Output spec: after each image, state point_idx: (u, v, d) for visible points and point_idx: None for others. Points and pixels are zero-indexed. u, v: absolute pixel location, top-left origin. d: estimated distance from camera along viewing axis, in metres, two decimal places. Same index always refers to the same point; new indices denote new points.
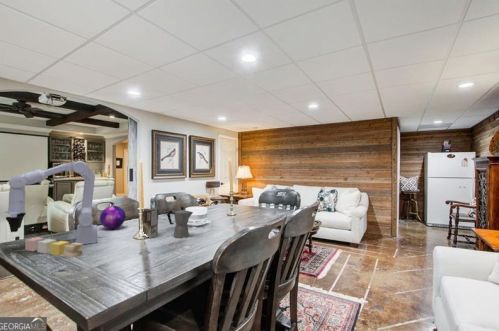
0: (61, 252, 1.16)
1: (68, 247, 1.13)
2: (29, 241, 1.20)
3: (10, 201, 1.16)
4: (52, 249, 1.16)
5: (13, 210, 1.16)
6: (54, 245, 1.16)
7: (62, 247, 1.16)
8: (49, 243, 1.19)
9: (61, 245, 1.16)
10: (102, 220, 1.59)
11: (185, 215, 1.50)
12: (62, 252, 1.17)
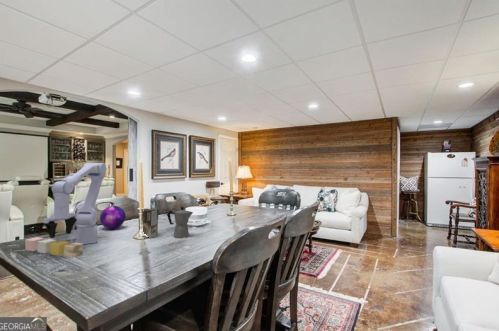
0: (61, 252, 1.16)
1: (68, 247, 1.13)
2: (29, 241, 1.20)
3: (62, 206, 1.16)
4: (52, 249, 1.16)
5: (54, 215, 1.16)
6: (54, 245, 1.16)
7: (62, 247, 1.16)
8: (49, 243, 1.19)
9: (61, 245, 1.16)
10: (102, 220, 1.59)
11: (185, 215, 1.50)
12: (62, 252, 1.17)
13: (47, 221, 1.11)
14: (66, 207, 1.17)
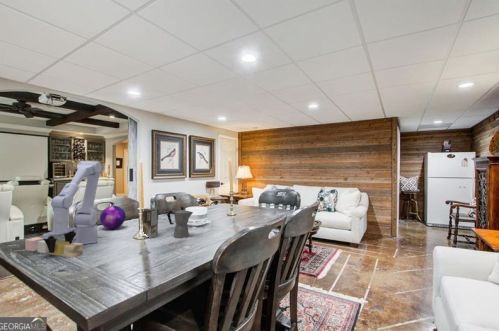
0: (61, 252, 1.16)
1: (68, 247, 1.13)
2: (29, 241, 1.20)
3: (61, 221, 1.16)
4: None
5: (53, 230, 1.16)
6: None
7: (62, 247, 1.16)
8: None
9: (61, 245, 1.16)
10: (102, 220, 1.59)
11: (185, 215, 1.50)
12: (62, 252, 1.17)
13: (46, 237, 1.11)
14: (65, 222, 1.17)
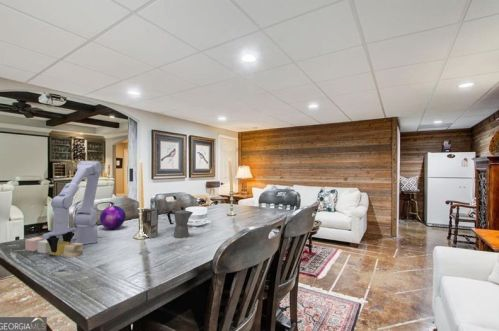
0: (61, 252, 1.16)
1: (68, 247, 1.13)
2: (29, 241, 1.20)
3: (61, 221, 1.16)
4: None
5: (53, 230, 1.16)
6: None
7: (62, 247, 1.16)
8: None
9: (61, 245, 1.16)
10: (102, 220, 1.59)
11: (185, 215, 1.50)
12: (62, 252, 1.17)
13: (46, 237, 1.11)
14: (65, 222, 1.17)
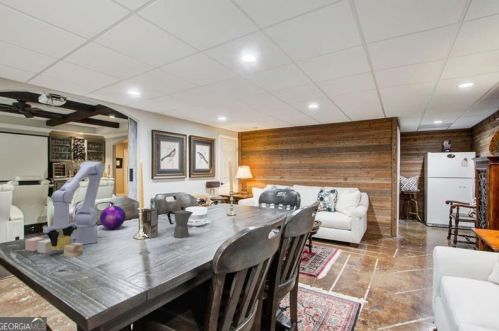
0: (61, 246, 1.16)
1: (68, 247, 1.13)
2: (29, 241, 1.20)
3: (62, 216, 1.16)
4: None
5: (54, 225, 1.16)
6: None
7: (62, 241, 1.17)
8: (49, 243, 1.19)
9: (61, 239, 1.16)
10: (102, 220, 1.59)
11: (185, 215, 1.50)
12: (62, 246, 1.17)
13: (47, 231, 1.11)
14: (66, 216, 1.17)
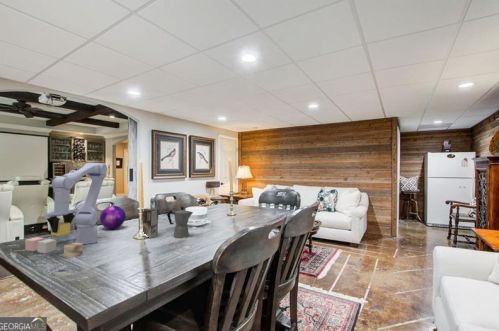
0: (62, 232, 1.16)
1: (68, 247, 1.13)
2: (29, 241, 1.20)
3: (62, 202, 1.16)
4: None
5: (54, 211, 1.16)
6: None
7: (63, 228, 1.17)
8: (49, 243, 1.19)
9: (62, 225, 1.16)
10: (102, 220, 1.59)
11: (185, 215, 1.50)
12: (63, 233, 1.17)
13: (47, 216, 1.11)
14: (66, 203, 1.17)
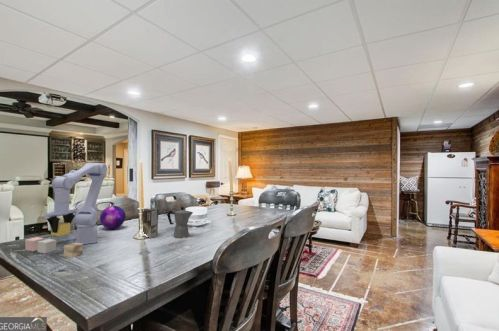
0: (62, 232, 1.16)
1: (68, 247, 1.13)
2: (29, 241, 1.20)
3: (62, 202, 1.16)
4: None
5: (54, 211, 1.16)
6: None
7: (63, 228, 1.17)
8: (49, 243, 1.19)
9: (62, 225, 1.16)
10: (102, 220, 1.59)
11: (185, 215, 1.50)
12: (63, 233, 1.17)
13: (47, 216, 1.11)
14: (66, 203, 1.17)
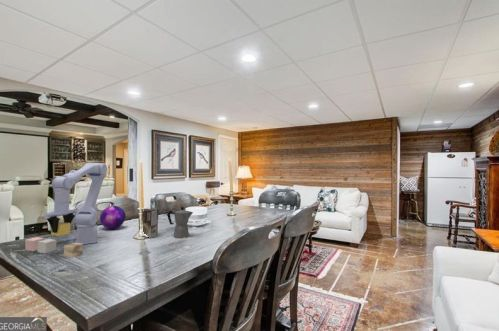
0: (62, 232, 1.16)
1: (68, 247, 1.13)
2: (29, 241, 1.20)
3: (62, 202, 1.16)
4: None
5: (54, 211, 1.16)
6: None
7: (63, 228, 1.17)
8: (49, 243, 1.19)
9: (62, 225, 1.16)
10: (102, 220, 1.59)
11: (185, 215, 1.50)
12: (63, 233, 1.17)
13: (47, 216, 1.11)
14: (66, 203, 1.17)
